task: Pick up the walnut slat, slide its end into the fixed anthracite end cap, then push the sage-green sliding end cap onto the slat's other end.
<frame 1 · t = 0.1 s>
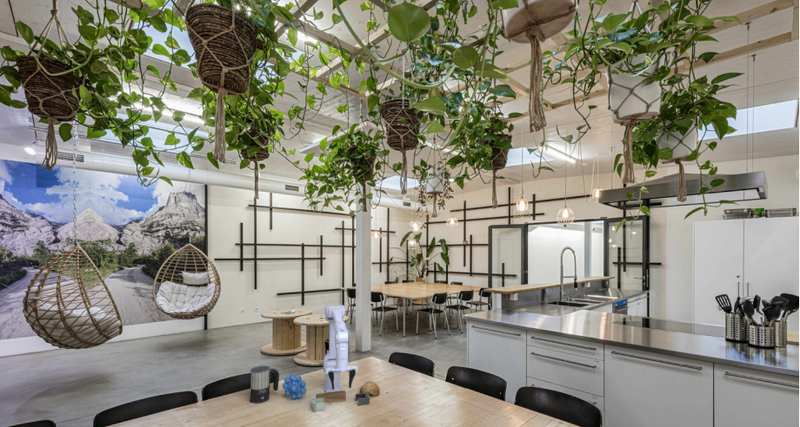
hand: (341, 388, 171), 10 cm above the table, tool pointing down, fingers open, 7 cm apart
slat: (330, 401, 180), on the table
fixed cap: (361, 402, 179), on the table
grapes: (293, 400, 182), on the table
sliding cap: (318, 404, 173), point 2 cm above the table, slide at 0.0 cm
milk frother: (259, 397, 186), on the table
bread roll: (369, 394, 190), on the table
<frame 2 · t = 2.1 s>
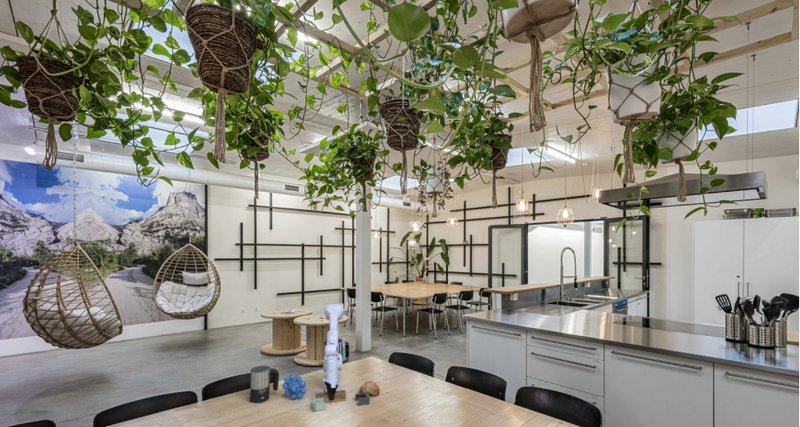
hand: (330, 398, 181), 1 cm above the table, tool pointing down, fingers closed on slat, 3 cm apart
slat: (330, 401, 180), on the table, touching gripper
everything else where it was.
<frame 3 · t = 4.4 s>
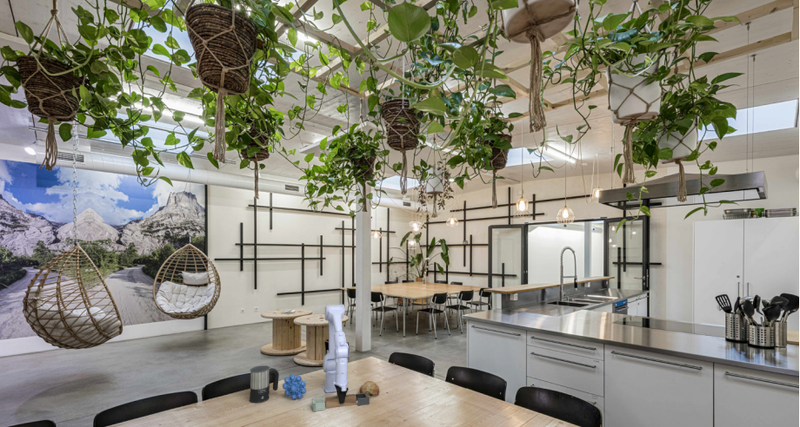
hand: (341, 401, 176), 2 cm above the table, tool pointing down, fingers closed on slat, 3 cm apart
slat: (340, 405, 176), on the table, touching gripper
everything else where it was.
when the fingers open (2 cm above the table, at t = 5.7 s): slat stays where it is, on the table.
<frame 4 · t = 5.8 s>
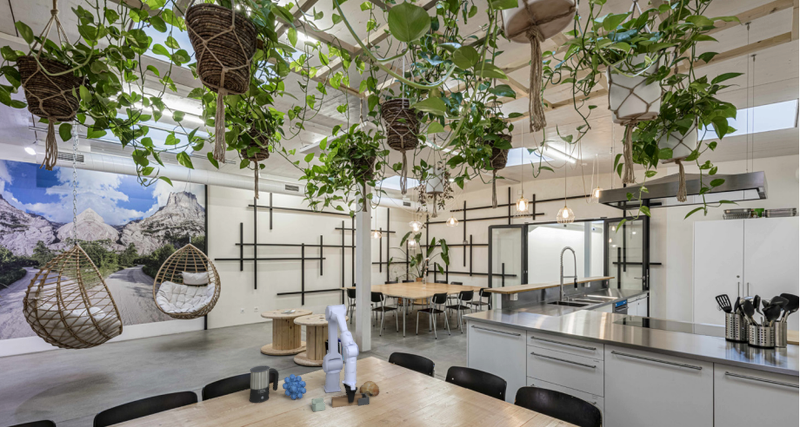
hand: (350, 400, 177), 2 cm above the table, tool pointing down, fingers open, 4 cm apart
slat: (346, 405, 177), on the table
everything else where it was.
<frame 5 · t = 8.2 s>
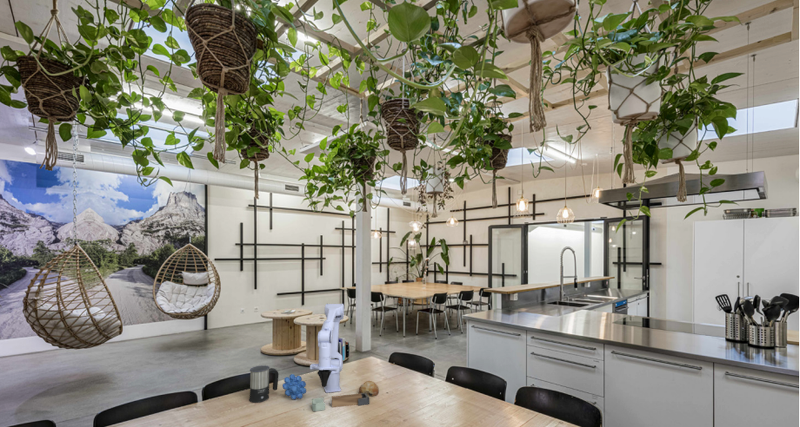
hand: (324, 386, 174), 9 cm above the table, tool pointing down, fingers closed
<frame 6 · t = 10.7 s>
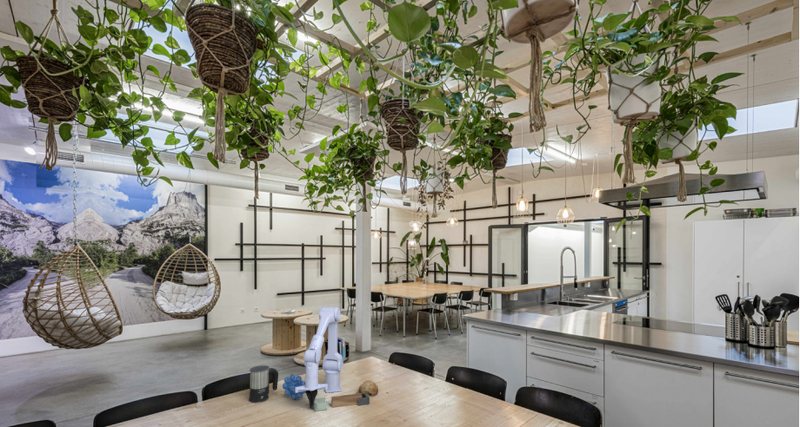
hand: (311, 406, 172), 1 cm above the table, tool pointing down, fingers closed
sliding cap: (319, 404, 173), point 2 cm above the table, slide at 0.8 cm, touching gripper
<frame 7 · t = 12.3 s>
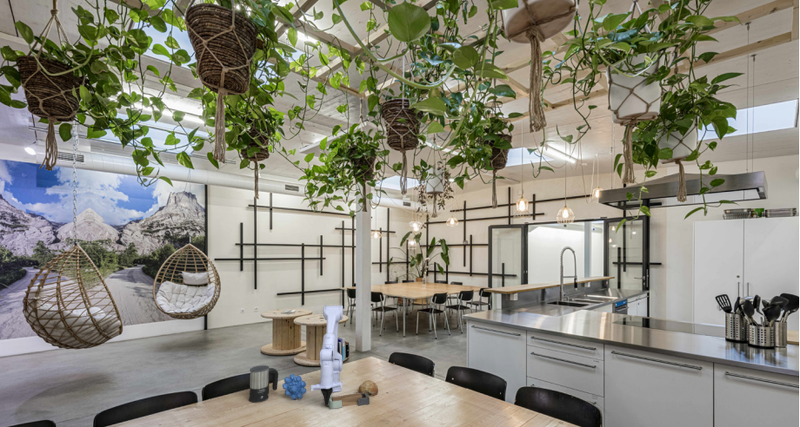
hand: (326, 404, 174), 1 cm above the table, tool pointing down, fingers closed
sliding cap: (334, 402, 175), point 2 cm above the table, slide at 7.7 cm, touching gripper
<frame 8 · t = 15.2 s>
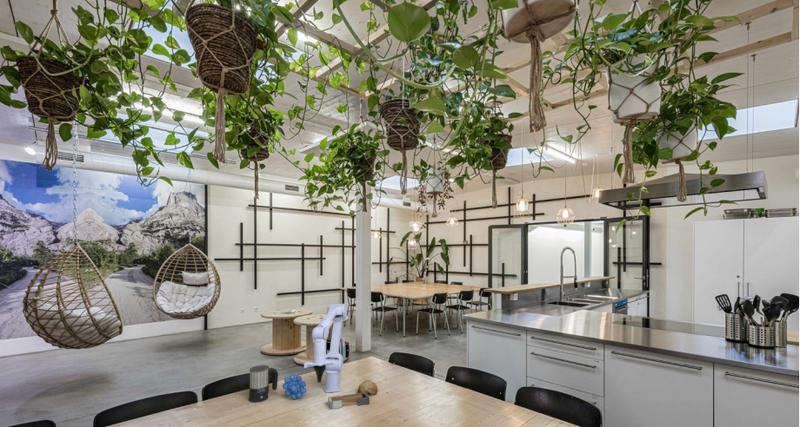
hand: (319, 381, 178), 10 cm above the table, tool pointing down, fingers closed
sliding cap: (334, 402, 175), point 2 cm above the table, slide at 7.7 cm
at the end: slat 1.0 cm from the target spot on the table beside the fixed cap, on the table; sliding cap slide at 7.7 cm; the gripper is holding nothing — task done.
